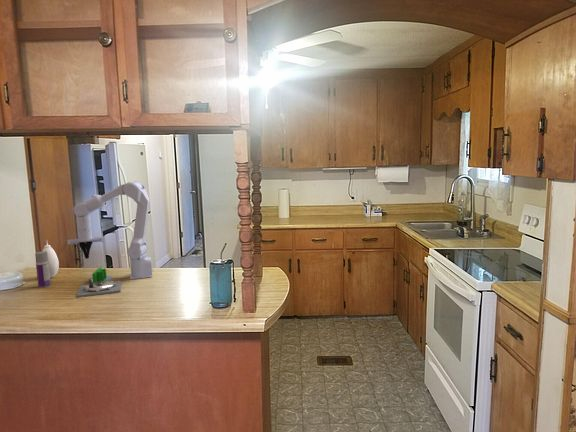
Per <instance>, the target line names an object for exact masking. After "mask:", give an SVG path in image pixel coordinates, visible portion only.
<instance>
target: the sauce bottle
mask: <svg viewBox="0 0 576 432" xmlns="http://www.w3.org/2000/svg"><path fill="white" fill-rule="evenodd" d="M44 251H46V252H47V255H48V262H49V272H50V279H51V278H54V277H55V275H57V274H58V272H59V266H60V262H59V258H58V255H57V253H56V252H55V250H54V248H53V247H52V246H51V245H50V244H49V242H48V240H46V245H44V246H43V249H42V251H41V252H44Z"/></svg>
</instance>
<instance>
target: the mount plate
mask: <svg viewBox="0 0 576 432" xmlns="http://www.w3.org/2000/svg"><path fill="white" fill-rule="evenodd" d="M112 281H113V282H114V283H116V286H114V287H112V288H111V289H107V290H102V291H99V292H96V291H88V292H87V291H86V289H83V286H86V285H88V284H89V283H88V284H80V286H79V289H78V291H77V294H76V298H83V297H84V298H85V297H91V296H92V297H93V296H99V295H101V296H102V295H108V294H115V293H117V294H118V293H121V292H122V291H121V287H122V286H121V285H122V281H121V280H115V281H114V280H112Z"/></svg>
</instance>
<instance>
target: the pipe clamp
mask: <svg viewBox="0 0 576 432" xmlns="http://www.w3.org/2000/svg"><path fill="white" fill-rule="evenodd" d="M107 276H108V275H107V269H106V268H103V267H98V268H97V269H95V271H94V272H93V273H92V277H91V278H92V279H93V283H94V282H100V281H104V279H106V278H107Z"/></svg>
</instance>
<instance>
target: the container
mask: <svg viewBox="0 0 576 432" xmlns="http://www.w3.org/2000/svg"><path fill="white" fill-rule="evenodd" d="M34 254H35V255H34V256H35V266H36V277H37V284H38V285H37V286H38V288H41V289H43V288H48V287H51V285H52V284H51V283H52V282H51V278H50V272H49V262H48V255H47V252H46V251H44V252H42V251H37V252H35V253H34Z"/></svg>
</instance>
